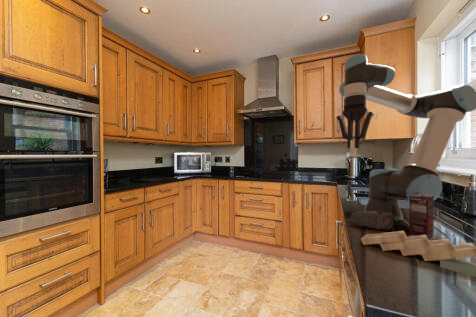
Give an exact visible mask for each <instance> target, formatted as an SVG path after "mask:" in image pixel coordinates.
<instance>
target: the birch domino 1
mask: <svg viewBox="0 0 476 317" xmlns="http://www.w3.org/2000/svg"><path fill="white" fill-rule="evenodd" d="M407 237H408V236H407V235H406V232H405V231H404V230H398V231H390V232H389V231H388V232H379V233H371V234H364V235H363V236H362V237H361V239H360V240H361V242H362V245H366V246H367V245H377V244H379V245H380V244H381V243H391V242H404V241H405V240H406V238H407Z"/></svg>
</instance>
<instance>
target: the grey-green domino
mask: <svg viewBox="0 0 476 317" xmlns="http://www.w3.org/2000/svg"><path fill="white" fill-rule="evenodd" d="M439 267H440V268H441V269H445V270H449V271H452V272H456V273H459V274H461V275H462V274H463V275H466V276H469V277H473V278H476V263H473V262H469V261H465V260H462V259H459V258H456V259H444V260H439Z"/></svg>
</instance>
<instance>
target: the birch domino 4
mask: <svg viewBox="0 0 476 317" xmlns="http://www.w3.org/2000/svg"><path fill="white" fill-rule="evenodd" d="M452 246H453V248H454V250H455V251H450V252H439V253H428V254H421V256H422V258H423V261H425V262H428V261H429V262H430V261H440V260H444V259H464V258H476V245H475V244H474V243H473V242H467V243H458V244H452Z"/></svg>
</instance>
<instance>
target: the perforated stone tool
mask: <svg viewBox="0 0 476 317" xmlns="http://www.w3.org/2000/svg"><path fill="white" fill-rule="evenodd" d="M394 218H395V216H394V215H393V214H392V213H385V212H377V211H364V210H361V211H360V210H359V211H354V212H352V213H351V214H350V217H349V219H350V221H351V223H353V224H354V225H356V226H359V227H364V226H366V227H365V228H367V227H368V228H367V229H372V228H374V229H373V230H383V231H389V230H391V229H392V228H393V226H394V224H395V221H394Z"/></svg>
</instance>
